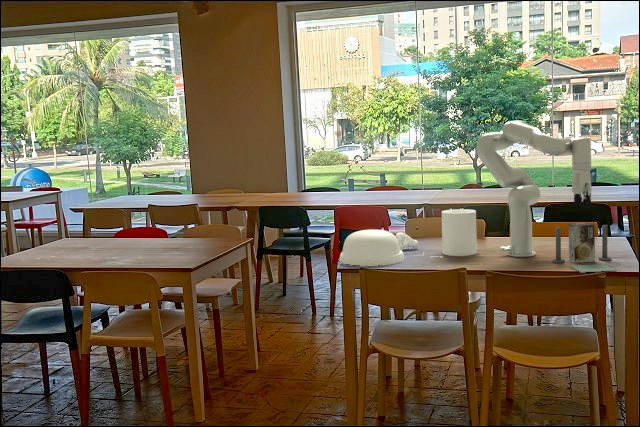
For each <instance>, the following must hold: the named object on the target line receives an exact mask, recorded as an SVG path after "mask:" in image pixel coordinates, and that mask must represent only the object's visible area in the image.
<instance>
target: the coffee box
mask: <svg viewBox="0 0 640 427" xmlns="http://www.w3.org/2000/svg"><path fill="white" fill-rule="evenodd" d="M595 237H596V236H595V224H593V223H591V222H577V223H568V260H569V262H572V263H573V264H577V263H590V262H591V263H592V262H596V248H595V245H596V244H595V243H596V240H595Z"/></svg>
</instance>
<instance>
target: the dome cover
mask: <svg viewBox="0 0 640 427" xmlns="http://www.w3.org/2000/svg"><path fill="white" fill-rule="evenodd" d="M395 236H396V235H395V234H393V233H392V232H390V231H387V230H385V229H363V230H359V231H355V232H352V233H351V234H349V235H348V236H347V237H346V239H345V240H344V243H343V247H342V251H341V253H340V255H339V263H341V264H342V265H346V264H352V265H360V266H359V267H366V266H370V267H379V266H378V265H380V267H381V265H382V266H390V265H395V264H398V263H401V262H403V261H404V260H405V257H404V252H403V250H402V251H401V250H400V246H401V245H399V242H398V240H397V238H396V237H395ZM352 265H351V266H352Z"/></svg>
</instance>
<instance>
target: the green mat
mask: <svg viewBox="0 0 640 427" xmlns="http://www.w3.org/2000/svg"><path fill="white" fill-rule="evenodd" d="M569 268H571V269H573V270H574V269H575V270H574V271H576V270H577V271H576V272H578V271H579V272H578V273H580V274H587V273H586V272H595V273H602V272H601V271H615V272H617V269H615V268H613V267H611V266H608V265H606V264H605V263H604V264H601V263H600V264H599V263H598V264H581V265H569Z"/></svg>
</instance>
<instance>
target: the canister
mask: <svg viewBox="0 0 640 427" xmlns="http://www.w3.org/2000/svg"><path fill="white" fill-rule="evenodd" d="M441 240H442V241H441V244H442V255H445V256H450V257H466V256H467V257H469V256H474V255H476V254H477V253H478V252H477V251H478V250H477V249H478V245H477V242H478V239H477V210H475V209H469V208H468V209H466V208H465V209H464V208H462V209H461V208H460V209H459V208H458V209H455V208H454V209H446V210H442V211H441Z"/></svg>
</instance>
